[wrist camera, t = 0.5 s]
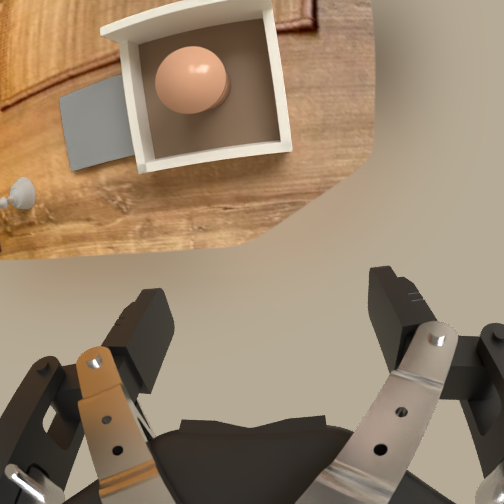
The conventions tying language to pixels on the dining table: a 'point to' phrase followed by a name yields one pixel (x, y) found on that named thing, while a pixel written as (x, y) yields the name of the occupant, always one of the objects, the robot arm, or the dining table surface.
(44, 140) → the dining table surface
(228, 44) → the drawer
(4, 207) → the chalice
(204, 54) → the tan capped cylinder
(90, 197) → the dining table surface
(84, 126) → the slate tile
